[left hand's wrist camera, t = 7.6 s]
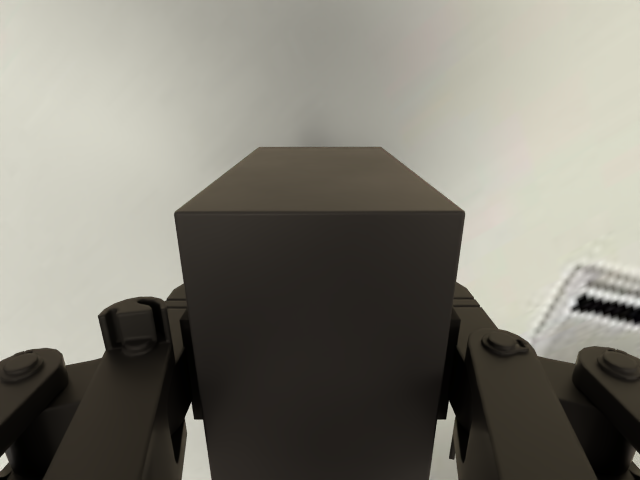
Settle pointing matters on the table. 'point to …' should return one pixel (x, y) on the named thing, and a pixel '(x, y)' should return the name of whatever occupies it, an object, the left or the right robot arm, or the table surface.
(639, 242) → the table surface
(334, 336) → the bar
